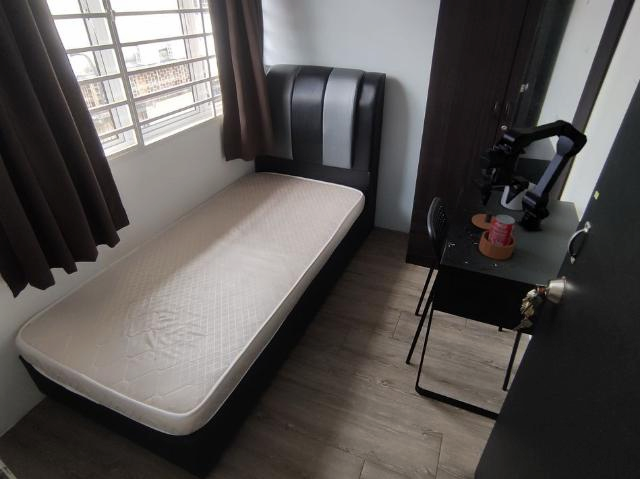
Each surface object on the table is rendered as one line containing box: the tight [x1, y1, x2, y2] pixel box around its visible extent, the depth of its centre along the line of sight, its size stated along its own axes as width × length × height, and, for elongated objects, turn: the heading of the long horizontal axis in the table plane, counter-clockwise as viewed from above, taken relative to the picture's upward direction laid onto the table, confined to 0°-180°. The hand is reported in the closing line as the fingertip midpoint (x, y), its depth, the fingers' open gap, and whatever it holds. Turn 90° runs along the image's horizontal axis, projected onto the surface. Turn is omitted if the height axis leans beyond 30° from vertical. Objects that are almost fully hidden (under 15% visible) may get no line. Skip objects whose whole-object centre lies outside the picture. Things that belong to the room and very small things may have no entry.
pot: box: [478, 230, 517, 261], centre depth 140 cm, size 11×11×6 cm
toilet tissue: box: [500, 181, 538, 211], centre depth 169 cm, size 11×12×10 cm
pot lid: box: [471, 211, 496, 231], centre depth 156 cm, size 12×12×5 cm
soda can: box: [488, 214, 516, 246], centre depth 138 cm, size 7×7×13 cm
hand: (495, 204), depth 144 cm, fingers open, 9 cm apart
